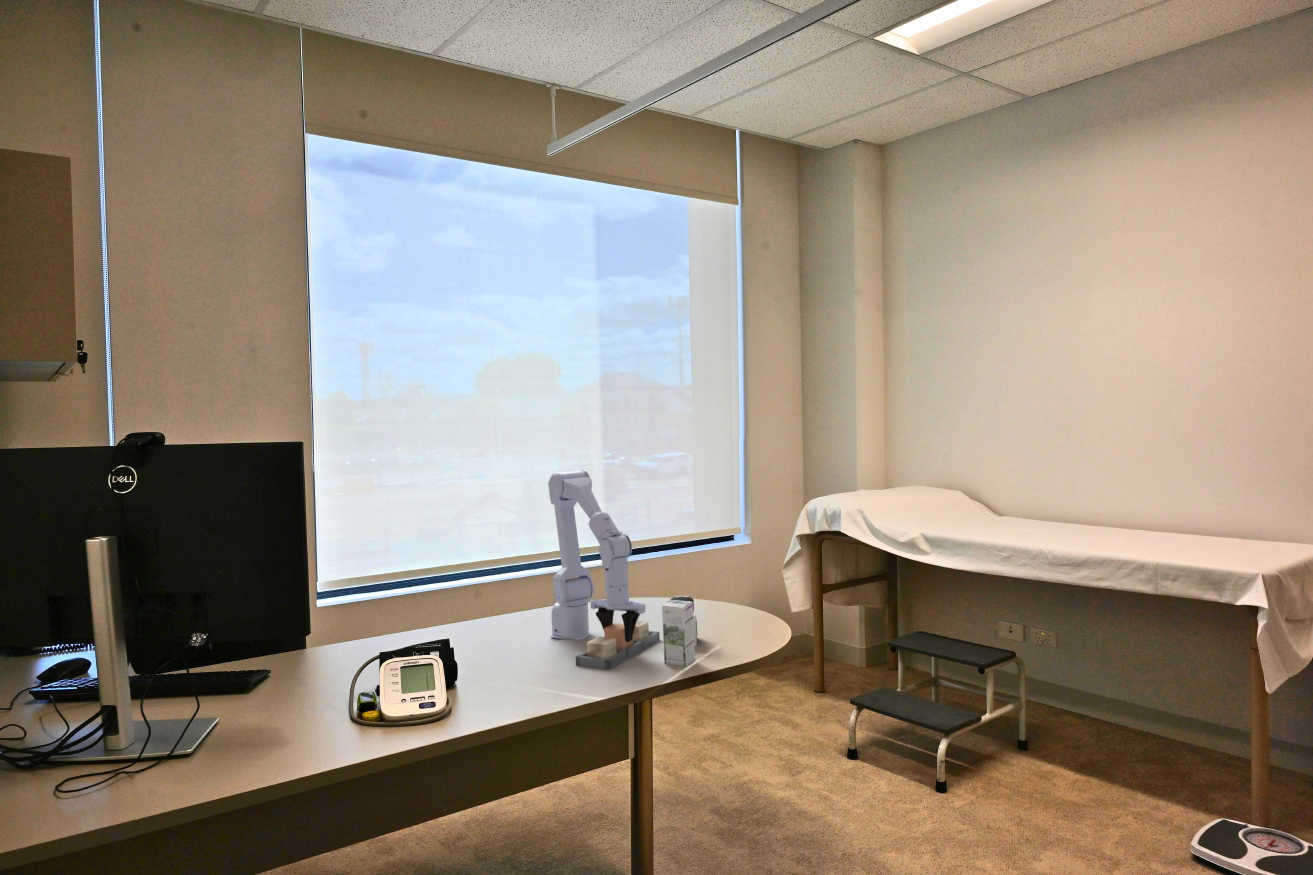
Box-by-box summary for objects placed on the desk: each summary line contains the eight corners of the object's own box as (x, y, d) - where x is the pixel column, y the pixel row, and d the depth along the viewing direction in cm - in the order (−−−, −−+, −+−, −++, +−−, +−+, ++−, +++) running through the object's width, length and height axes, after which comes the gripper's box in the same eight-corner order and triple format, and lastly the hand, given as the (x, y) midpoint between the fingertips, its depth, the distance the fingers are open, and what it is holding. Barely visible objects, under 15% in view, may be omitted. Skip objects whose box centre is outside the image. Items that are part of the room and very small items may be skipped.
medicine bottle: (697, 648, 203) (696, 600, 202) (669, 648, 203) (667, 601, 202) (696, 639, 210) (695, 593, 209) (669, 640, 210) (667, 594, 209)
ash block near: (587, 663, 192) (586, 642, 192) (599, 657, 196) (598, 636, 196) (605, 665, 190) (604, 644, 189) (616, 659, 194) (615, 638, 194)
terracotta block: (605, 648, 199) (604, 628, 199) (615, 642, 203) (614, 622, 203) (622, 650, 196) (621, 630, 196) (633, 644, 201) (632, 624, 201)
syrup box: (695, 660, 193) (693, 600, 192) (686, 668, 187) (683, 606, 187) (673, 658, 195) (671, 598, 194) (663, 666, 190) (661, 604, 189)
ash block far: (622, 644, 206) (621, 624, 206) (632, 638, 210) (631, 619, 210) (639, 646, 204) (638, 626, 203) (649, 640, 208) (648, 621, 208)
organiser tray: (575, 667, 191) (575, 656, 191) (629, 638, 213) (628, 628, 213) (608, 672, 187) (608, 660, 187) (659, 641, 209) (659, 631, 209)
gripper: (583, 586, 199) (585, 640, 200) (634, 590, 192) (636, 647, 193) (598, 579, 205) (600, 633, 206) (648, 584, 199) (650, 639, 199)
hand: (619, 639), depth 200 cm, fingers closed on terracotta block, 5 cm apart
